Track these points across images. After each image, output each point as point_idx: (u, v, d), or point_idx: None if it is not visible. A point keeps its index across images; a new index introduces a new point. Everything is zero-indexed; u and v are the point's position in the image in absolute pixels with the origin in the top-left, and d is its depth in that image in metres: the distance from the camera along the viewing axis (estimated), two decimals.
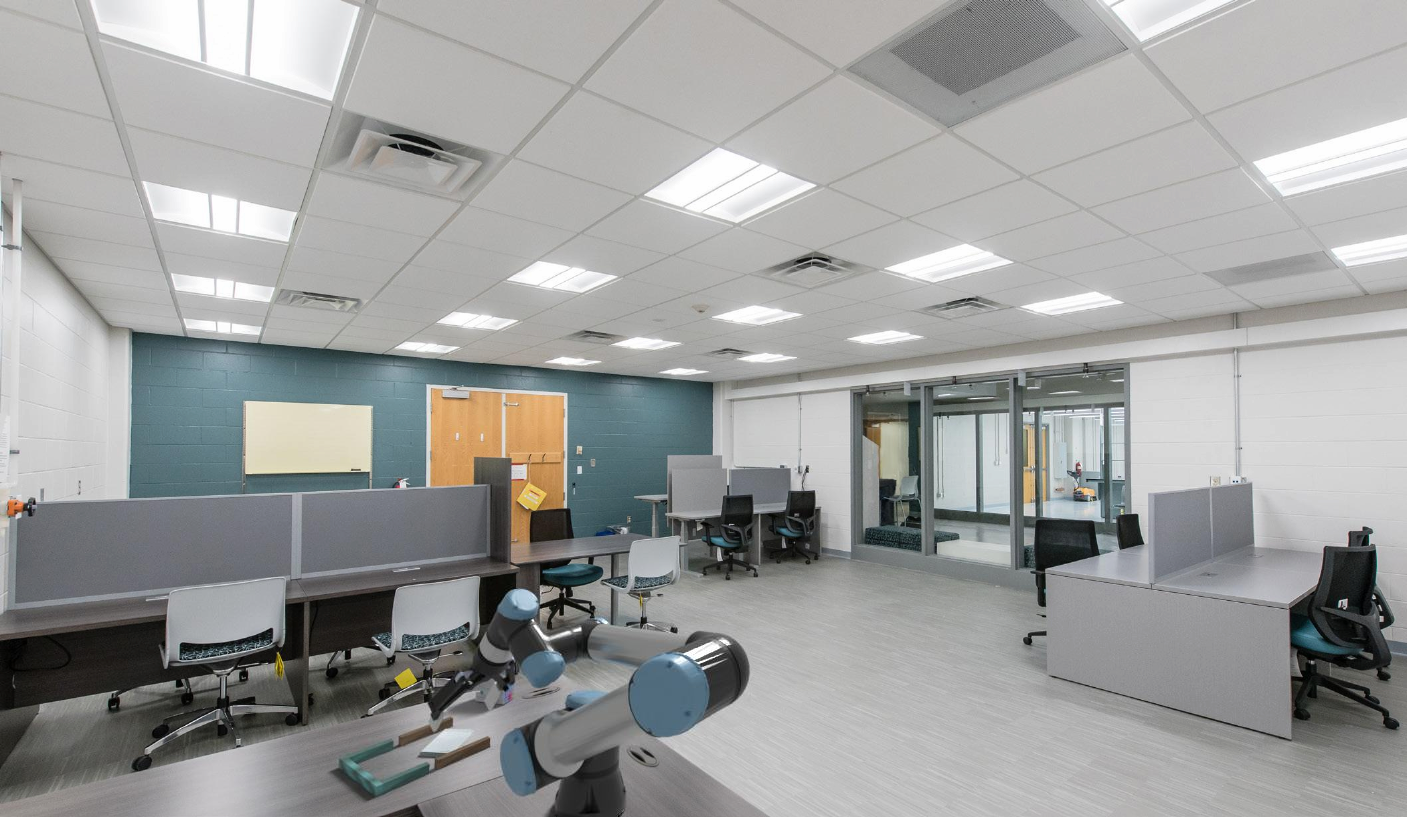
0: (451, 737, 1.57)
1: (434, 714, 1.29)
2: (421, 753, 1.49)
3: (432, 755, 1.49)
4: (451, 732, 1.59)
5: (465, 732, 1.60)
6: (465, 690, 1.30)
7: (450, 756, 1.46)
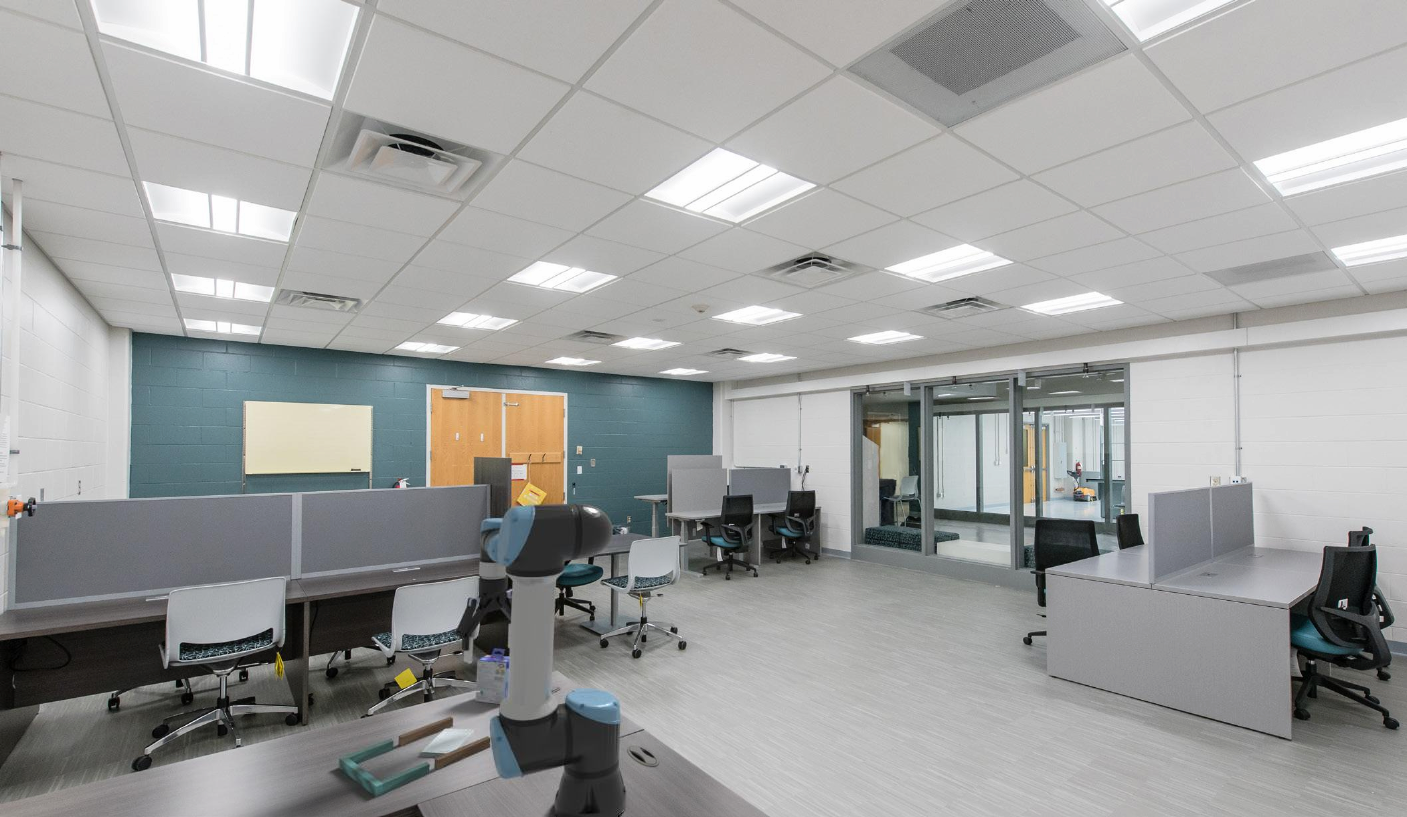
0: (451, 737, 1.57)
1: (464, 644, 1.59)
2: (421, 753, 1.49)
3: (432, 756, 1.49)
4: (451, 732, 1.59)
5: (465, 732, 1.59)
6: (481, 615, 1.62)
7: (450, 756, 1.46)
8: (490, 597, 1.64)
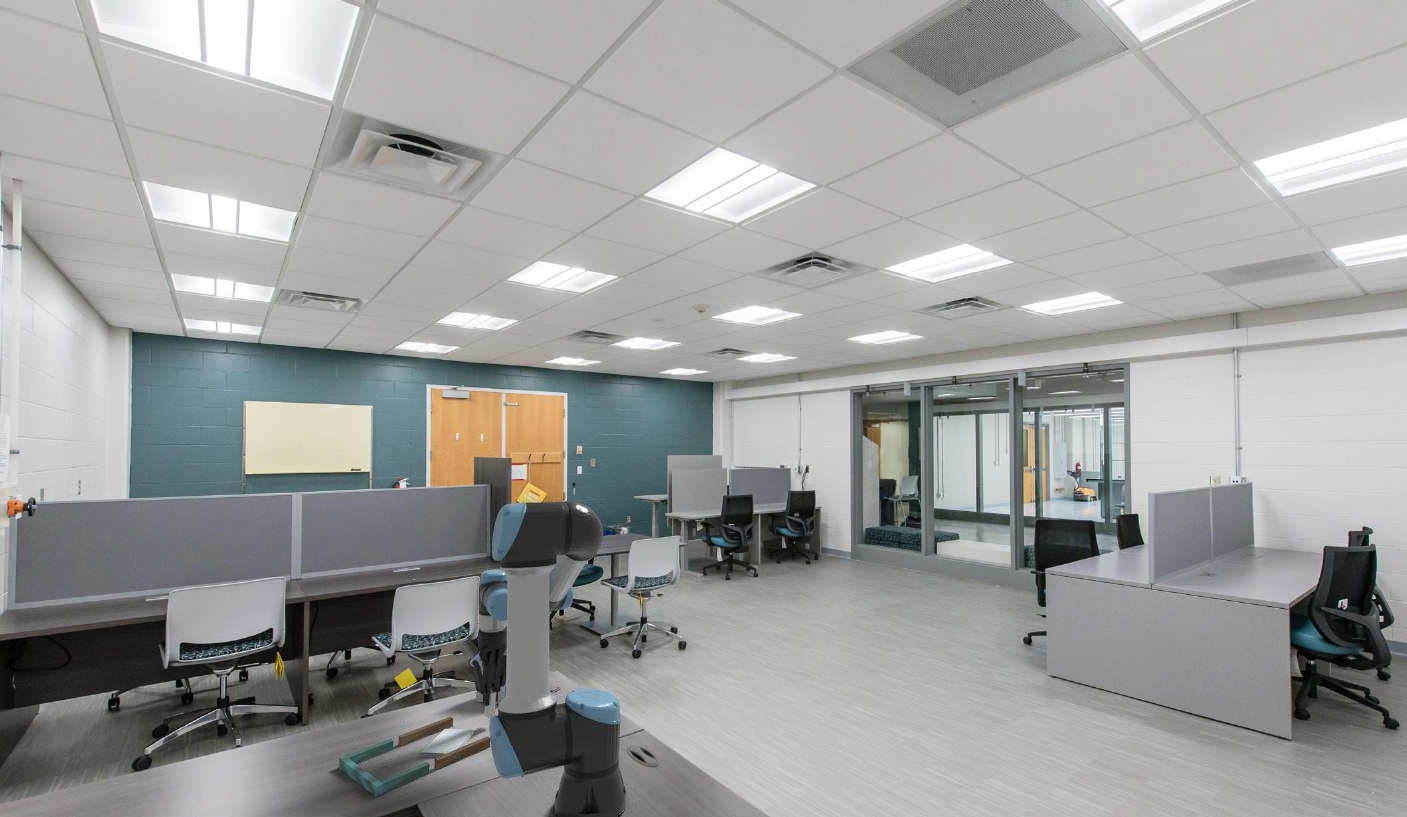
0: (451, 737, 1.57)
1: (485, 699, 1.64)
2: (421, 754, 1.49)
3: (432, 756, 1.49)
4: (451, 732, 1.59)
5: (464, 732, 1.59)
6: (489, 670, 1.64)
7: (450, 756, 1.46)
8: (487, 647, 1.64)
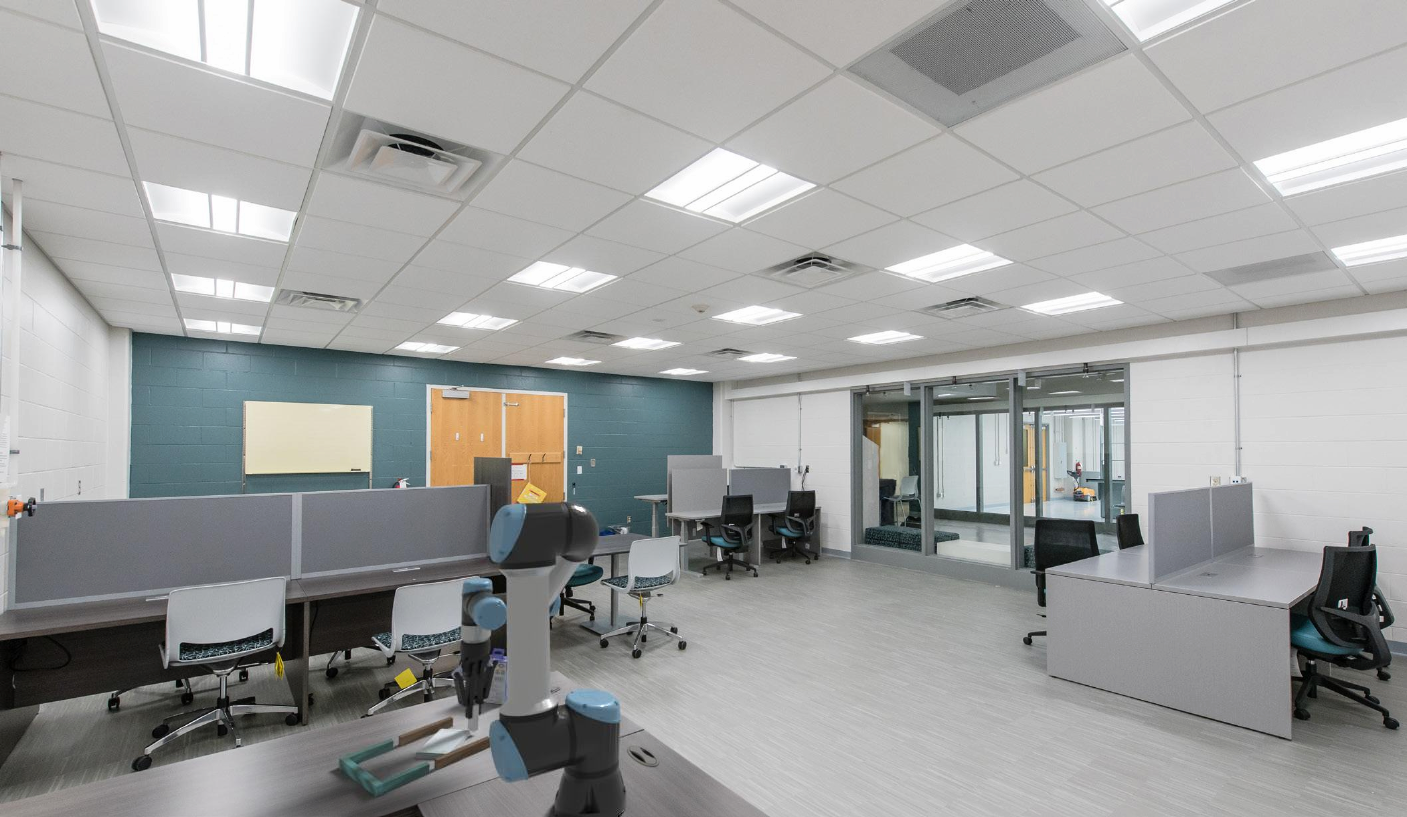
0: (447, 737, 1.56)
1: (467, 712, 1.59)
2: (417, 754, 1.48)
3: (427, 756, 1.48)
4: (447, 733, 1.58)
5: (461, 732, 1.59)
6: (472, 681, 1.60)
7: (450, 756, 1.46)
8: (470, 658, 1.59)
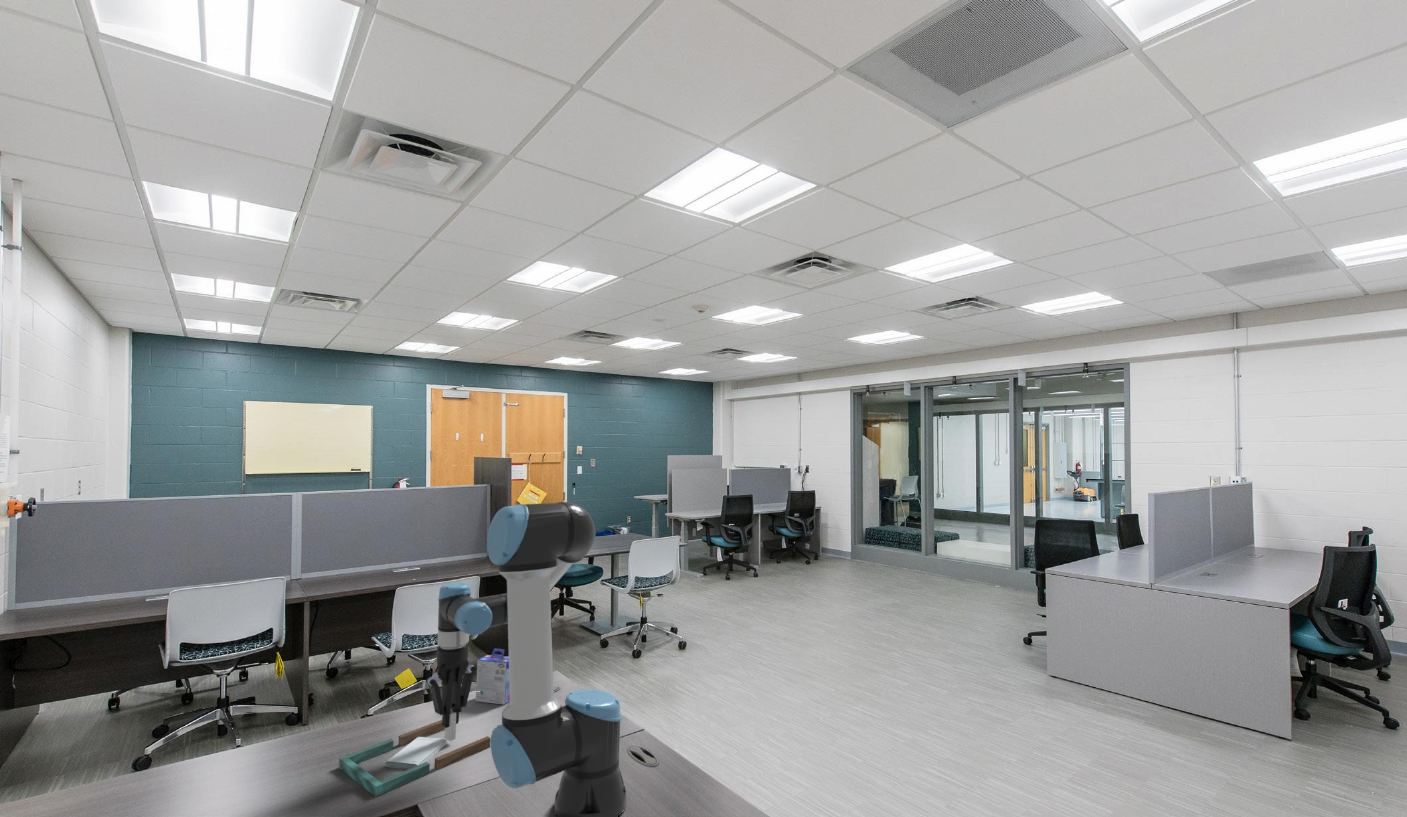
0: (421, 746, 1.51)
1: (444, 720, 1.54)
2: (387, 763, 1.44)
3: (397, 766, 1.44)
4: (423, 741, 1.54)
5: (436, 741, 1.54)
6: (449, 689, 1.55)
7: (450, 756, 1.46)
8: (446, 665, 1.54)
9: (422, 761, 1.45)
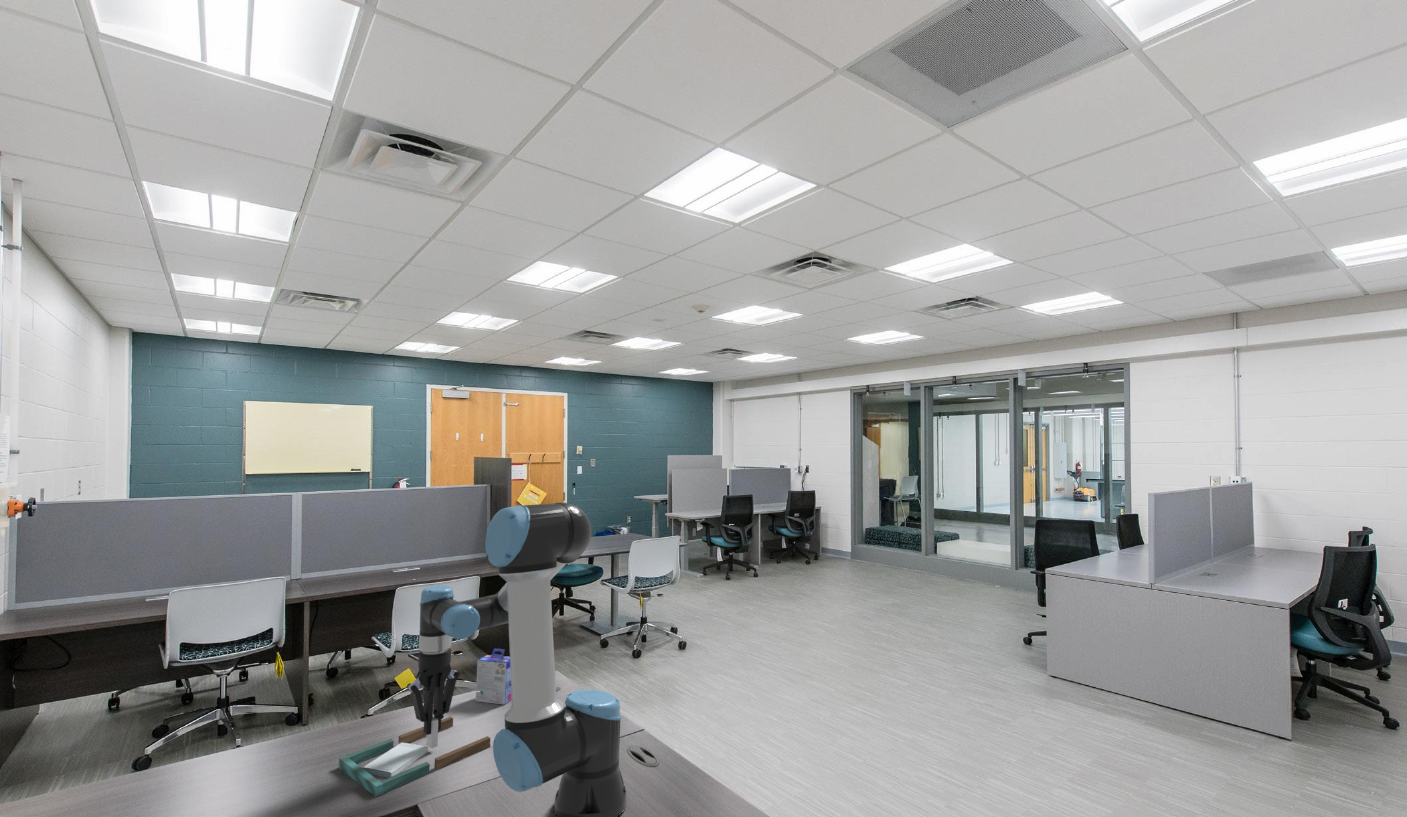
0: (401, 753, 1.48)
1: (426, 727, 1.51)
2: None
3: (373, 773, 1.41)
4: (404, 747, 1.51)
5: (417, 749, 1.50)
6: (430, 695, 1.51)
7: (450, 756, 1.46)
8: (428, 670, 1.51)
9: (397, 769, 1.42)
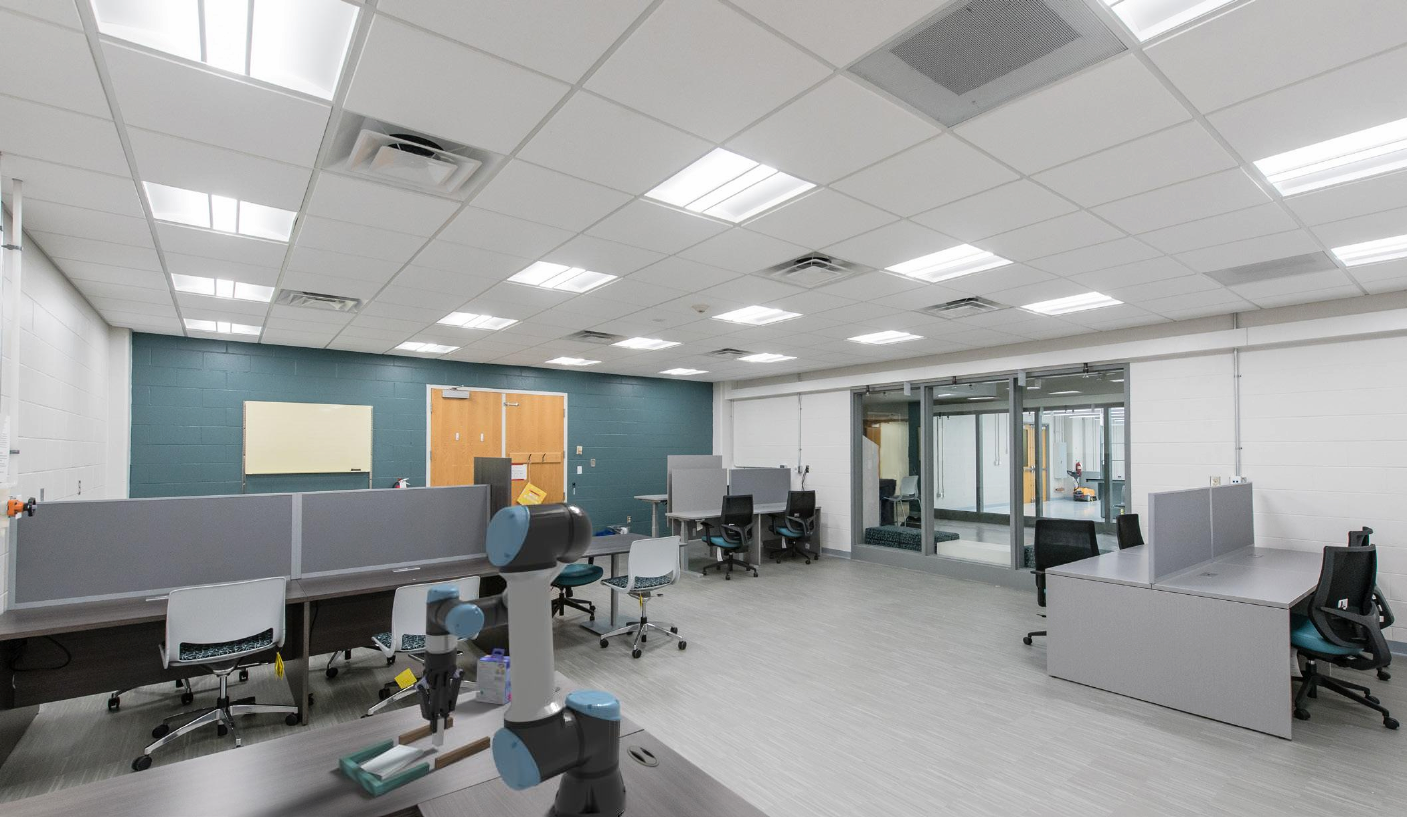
0: (396, 756, 1.47)
1: (432, 726, 1.52)
2: None
3: None
4: (400, 750, 1.50)
5: (412, 752, 1.49)
6: (436, 694, 1.52)
7: (450, 756, 1.46)
8: (434, 669, 1.52)
9: (389, 772, 1.41)
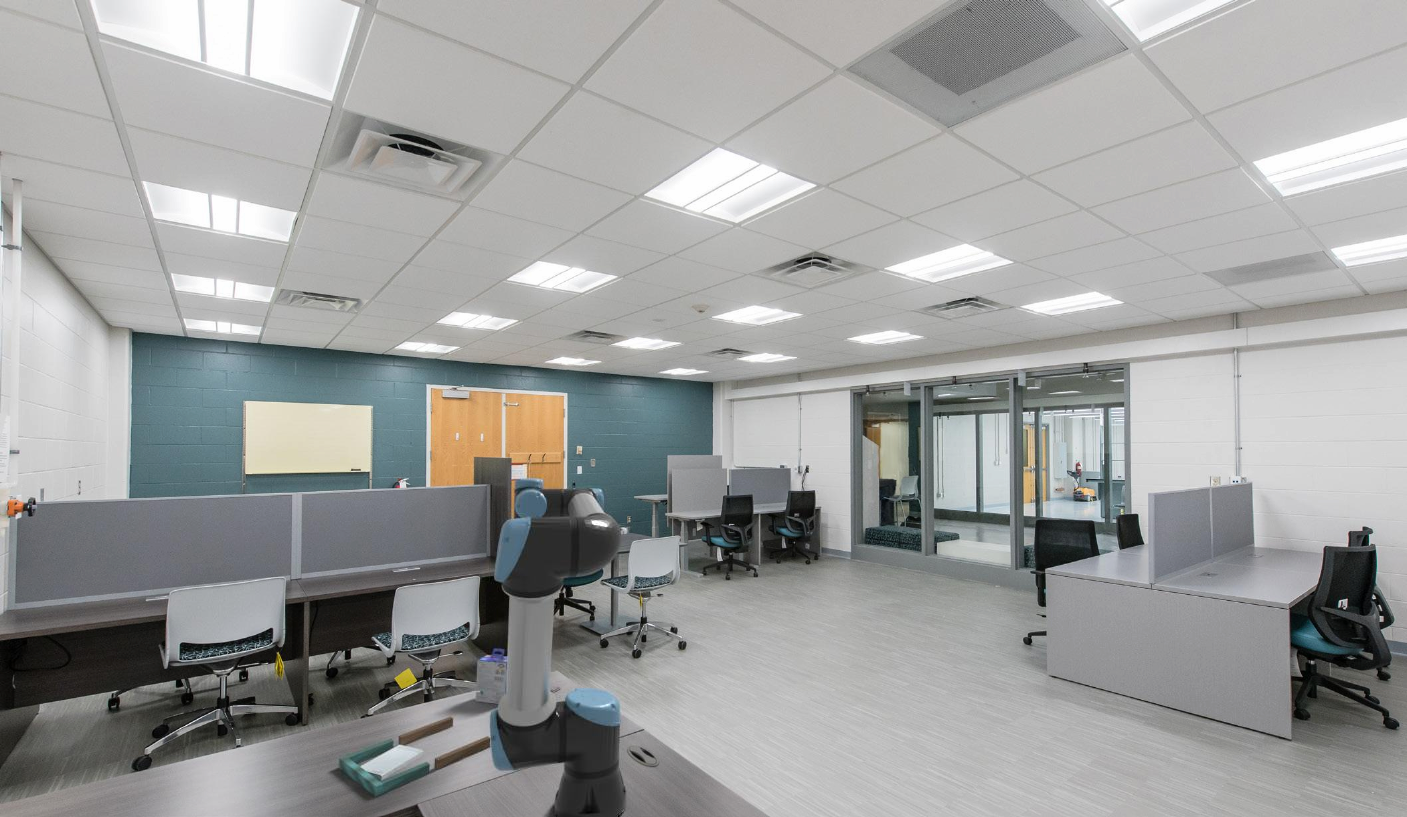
0: (396, 756, 1.47)
1: None
2: None
3: None
4: (400, 750, 1.50)
5: (412, 752, 1.49)
6: None
7: (450, 756, 1.46)
8: None
9: (389, 772, 1.41)
